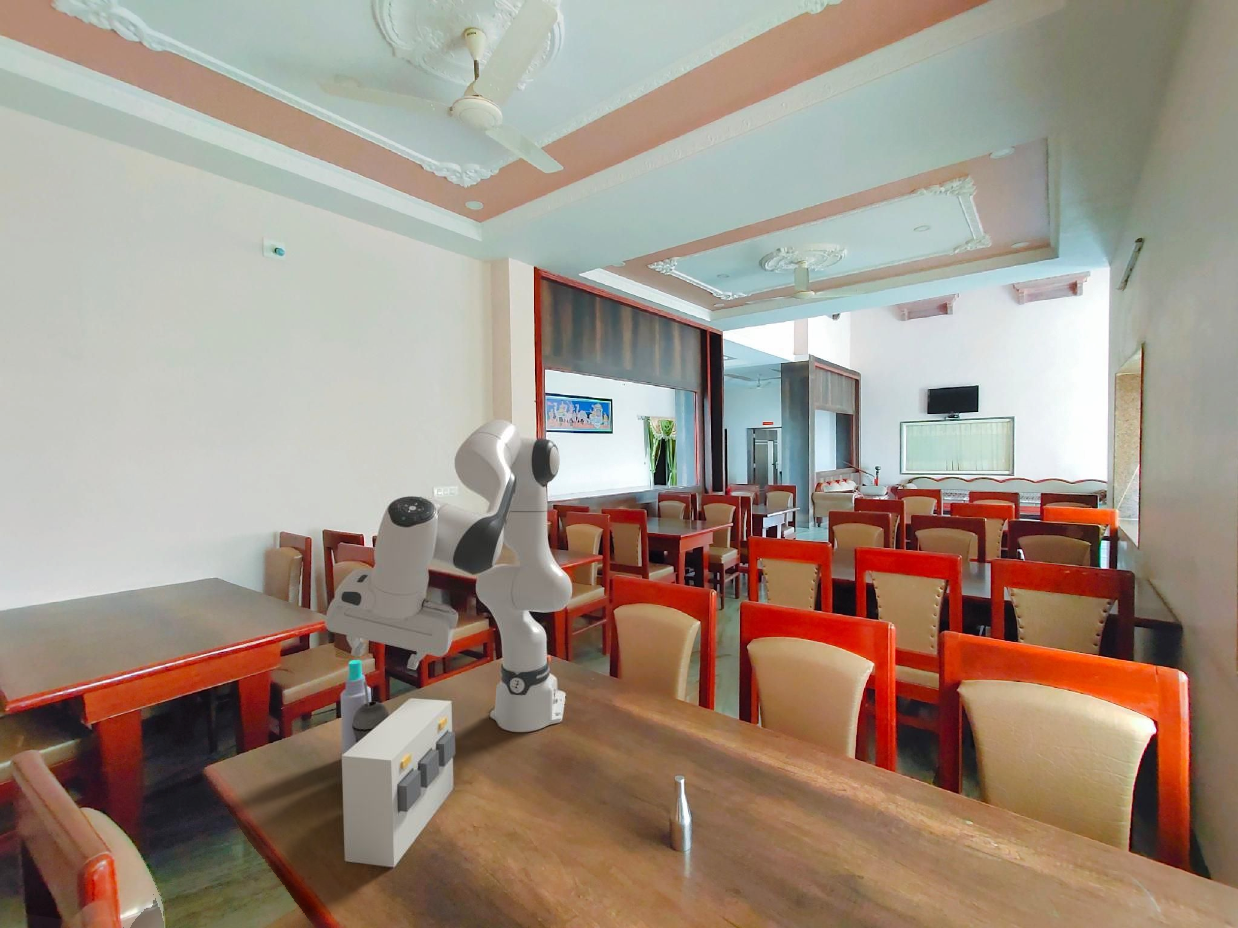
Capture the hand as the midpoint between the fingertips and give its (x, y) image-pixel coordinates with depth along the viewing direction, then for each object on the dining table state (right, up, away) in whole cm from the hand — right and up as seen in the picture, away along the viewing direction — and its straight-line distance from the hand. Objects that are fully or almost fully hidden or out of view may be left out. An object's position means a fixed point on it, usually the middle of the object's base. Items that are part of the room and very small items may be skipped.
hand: (385, 660), depth 94 cm
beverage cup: (-12, -33, +22) cm, 41 cm away
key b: (+5, -24, +13) cm, 28 cm away
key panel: (0, -33, +8) cm, 34 cm away
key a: (+3, -25, +1) cm, 25 cm away
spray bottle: (-18, -32, +28) cm, 47 cm away
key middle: (+4, -24, +7) cm, 26 cm away
